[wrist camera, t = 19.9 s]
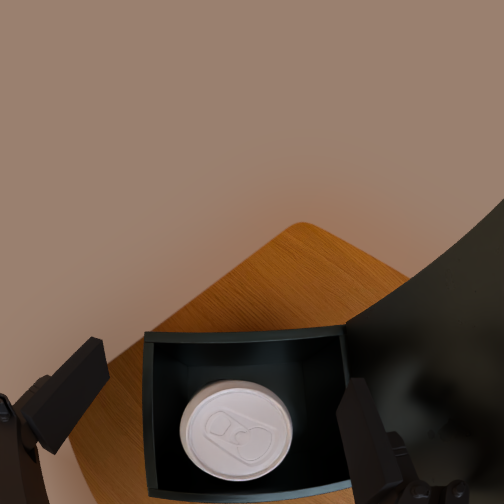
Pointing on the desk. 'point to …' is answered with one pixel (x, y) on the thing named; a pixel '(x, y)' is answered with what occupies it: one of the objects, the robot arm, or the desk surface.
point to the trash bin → (260, 372)
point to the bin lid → (443, 362)
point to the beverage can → (236, 429)
